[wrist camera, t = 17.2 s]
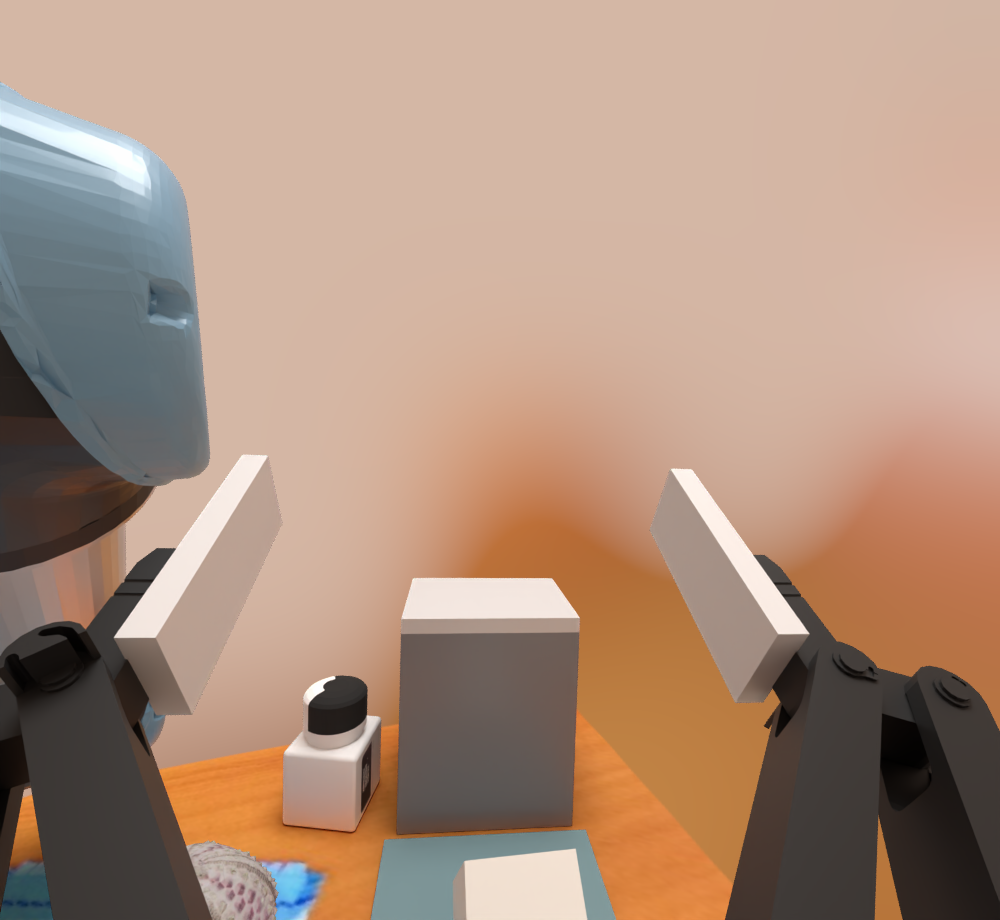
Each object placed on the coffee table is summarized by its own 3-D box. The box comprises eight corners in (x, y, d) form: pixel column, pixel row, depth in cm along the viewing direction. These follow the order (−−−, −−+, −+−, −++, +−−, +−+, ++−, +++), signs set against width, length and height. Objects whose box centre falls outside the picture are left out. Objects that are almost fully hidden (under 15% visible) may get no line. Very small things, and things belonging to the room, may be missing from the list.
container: (380, 780, 56) (383, 670, 55) (354, 834, 48) (356, 707, 48) (317, 773, 56) (318, 665, 56) (281, 826, 49) (282, 701, 48)
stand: (572, 825, 50) (579, 617, 49) (396, 834, 48) (401, 619, 47) (546, 741, 64) (551, 578, 63) (409, 745, 62) (413, 578, 61)
